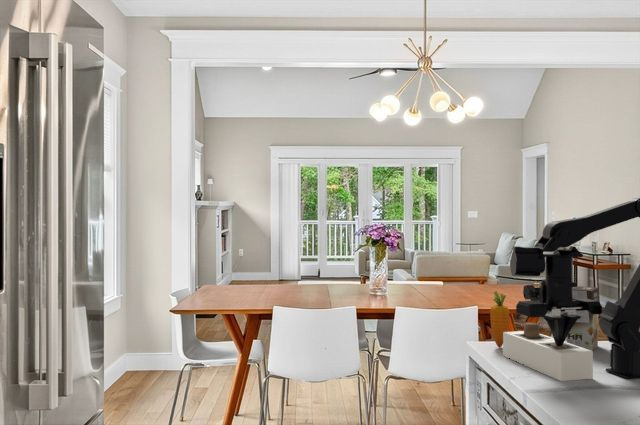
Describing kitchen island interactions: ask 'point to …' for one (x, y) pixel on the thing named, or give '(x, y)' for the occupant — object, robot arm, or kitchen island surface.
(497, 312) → the carrot
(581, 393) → the kitchen island surface
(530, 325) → the peg far
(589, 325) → the coffee box
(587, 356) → the white peg holder block
